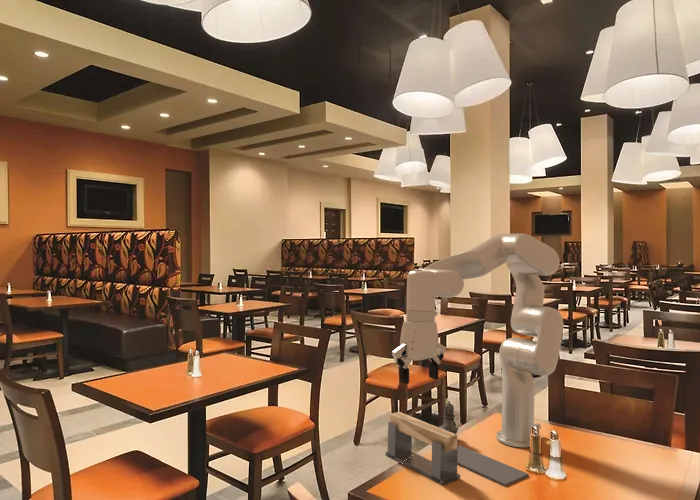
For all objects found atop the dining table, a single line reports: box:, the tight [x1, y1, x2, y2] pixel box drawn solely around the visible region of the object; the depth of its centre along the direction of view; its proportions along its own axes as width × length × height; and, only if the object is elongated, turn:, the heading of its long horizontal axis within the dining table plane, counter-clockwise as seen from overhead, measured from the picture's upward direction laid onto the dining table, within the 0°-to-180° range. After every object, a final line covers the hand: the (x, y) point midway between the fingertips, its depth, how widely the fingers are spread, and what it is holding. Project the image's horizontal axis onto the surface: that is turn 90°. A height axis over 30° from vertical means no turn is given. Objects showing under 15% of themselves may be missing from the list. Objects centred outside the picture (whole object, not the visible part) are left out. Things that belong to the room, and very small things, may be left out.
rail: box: [389, 411, 458, 452], centre depth 136 cm, size 4×22×4 cm, turn 37°
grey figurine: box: [438, 400, 459, 435], centre depth 156 cm, size 6×6×12 cm
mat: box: [457, 445, 530, 487], centre depth 138 cm, size 10×23×1 cm, turn 37°
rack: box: [384, 421, 461, 486], centre depth 136 cm, size 6×22×10 cm, turn 37°
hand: (419, 380), depth 134 cm, fingers open, 9 cm apart
